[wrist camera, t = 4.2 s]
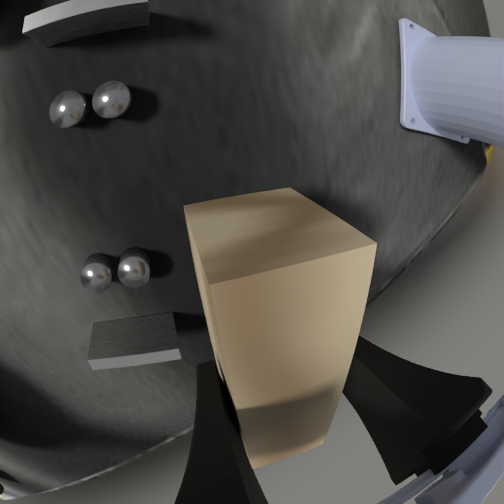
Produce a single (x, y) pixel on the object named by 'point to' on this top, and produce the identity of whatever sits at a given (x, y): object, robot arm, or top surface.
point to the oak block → (280, 311)
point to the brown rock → (1, 489)
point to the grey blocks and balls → (72, 114)
